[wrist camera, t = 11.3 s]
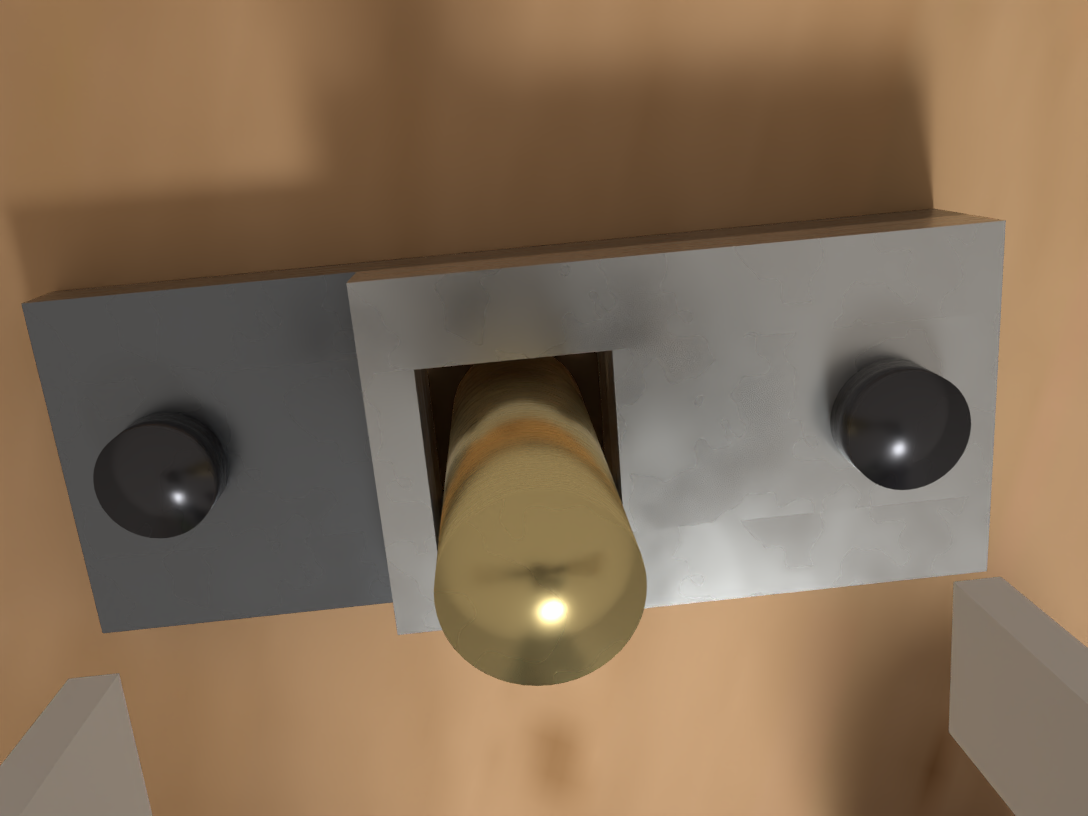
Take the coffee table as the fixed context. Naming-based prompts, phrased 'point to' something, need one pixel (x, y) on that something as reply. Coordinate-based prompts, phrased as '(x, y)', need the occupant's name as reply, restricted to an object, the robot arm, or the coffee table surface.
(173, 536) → the two-tone latch plate
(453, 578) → the brass pin
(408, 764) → the coffee table surface
